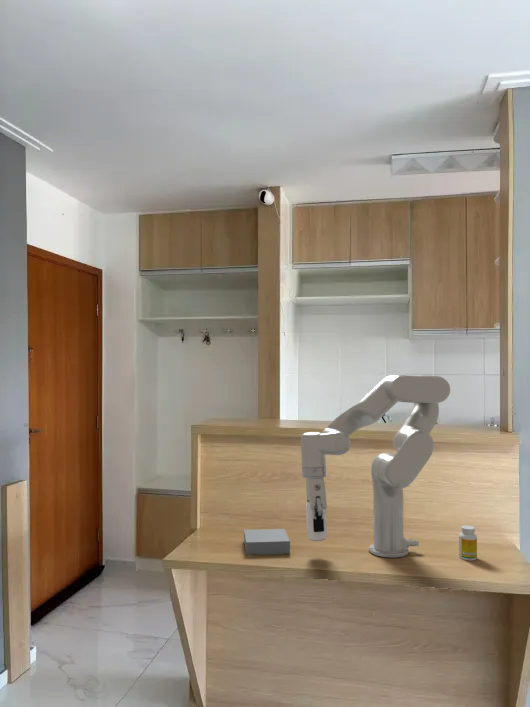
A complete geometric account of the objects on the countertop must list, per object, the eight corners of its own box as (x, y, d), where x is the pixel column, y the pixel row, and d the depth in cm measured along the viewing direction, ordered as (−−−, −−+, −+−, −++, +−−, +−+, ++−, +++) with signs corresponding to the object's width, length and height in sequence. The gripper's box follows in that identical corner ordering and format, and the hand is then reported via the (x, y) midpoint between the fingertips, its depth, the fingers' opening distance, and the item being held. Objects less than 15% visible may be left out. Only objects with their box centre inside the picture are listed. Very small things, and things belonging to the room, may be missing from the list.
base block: (284, 540, 199) (284, 528, 199) (290, 553, 185) (290, 541, 185) (243, 541, 197) (243, 529, 197) (246, 555, 183) (246, 542, 183)
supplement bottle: (455, 556, 183) (455, 525, 183) (470, 554, 184) (470, 524, 184) (465, 561, 177) (465, 530, 177) (480, 560, 179) (480, 528, 179)
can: (326, 541, 179) (324, 502, 179) (305, 541, 180) (304, 502, 180) (328, 535, 185) (326, 497, 185) (308, 534, 186) (306, 497, 186)
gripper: (331, 476, 175) (334, 535, 174) (320, 466, 192) (323, 520, 192) (306, 477, 174) (309, 537, 174) (298, 467, 191) (301, 521, 191)
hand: (316, 527), depth 183 cm, fingers closed on can, 6 cm apart
